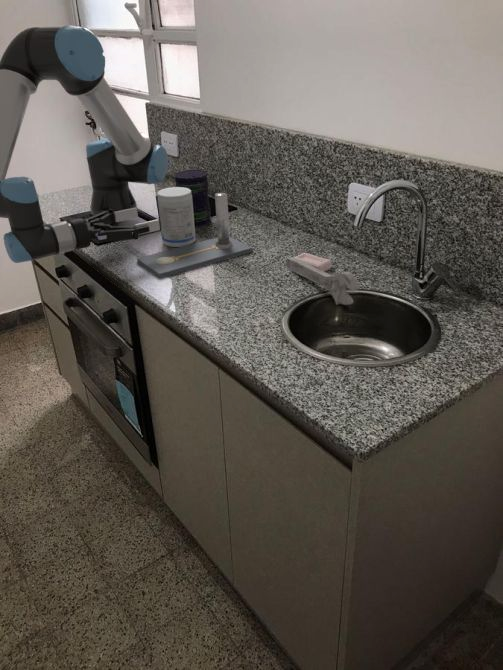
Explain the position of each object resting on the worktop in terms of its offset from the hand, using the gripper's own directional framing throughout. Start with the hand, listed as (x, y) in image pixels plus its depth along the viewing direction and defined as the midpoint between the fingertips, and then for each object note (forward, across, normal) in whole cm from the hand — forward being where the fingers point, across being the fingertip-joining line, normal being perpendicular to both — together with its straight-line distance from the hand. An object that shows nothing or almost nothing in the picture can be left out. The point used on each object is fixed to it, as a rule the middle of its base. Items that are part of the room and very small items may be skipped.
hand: (147, 218), depth 150 cm
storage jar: (+21, -13, -9) cm, 27 cm away
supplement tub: (+9, 0, -9) cm, 13 cm away
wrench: (+20, +48, -9) cm, 52 cm away
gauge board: (+7, +13, -9) cm, 17 cm away
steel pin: (+16, +13, -8) cm, 22 cm away
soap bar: (+27, +37, -10) cm, 47 cm away
